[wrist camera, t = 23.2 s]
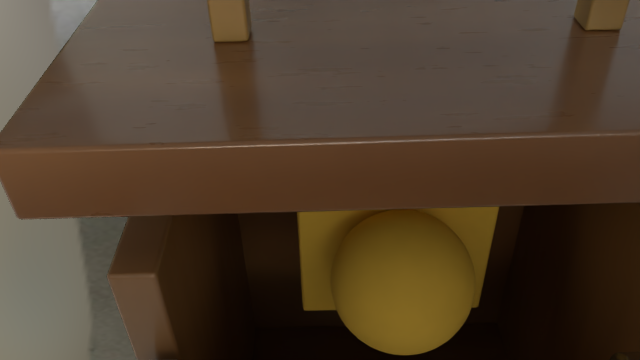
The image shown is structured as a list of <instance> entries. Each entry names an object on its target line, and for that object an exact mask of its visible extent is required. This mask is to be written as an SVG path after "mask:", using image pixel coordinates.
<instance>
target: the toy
mask: <svg viewBox="0 0 640 360" xmlns="http://www.w3.org/2000/svg"><path fill="white" fill-rule="evenodd" d="M498 211H499V207H464V208H426V209H389V210H352V211H315V212H297V222H298V239H299V255H300V271H301V287H302V303H303V309H304V310H305V311H318V310H337V312H338V314H339V316H340V318H341V320H342V321H343V322H344V324H345V325H346V327H347V328H348V329H349V330H350V331H351V332H352V333H353V334H354V335H355V336H356V337H357V338H358V339H359V340H361V341H362V342H363V343H365V344H367V345H368V346H370V347H372V348H374V349H376V350H379V351H382V352H385V353H389V354H394V355H415V354H420V353H424V352H428V351H430V350H433V349H435V348H437V347H439V346H441V345H442V344H444V343H445V342H447V341H448V340H449V339H451V338H452V337H453V336H454V335H455V334H456V333H457V332H458V330H459V329H460V328H461V327H462V325H463V324H464V322H465V321H466V319H467V317H468V315H469V313H470V310H471V308H476V307H478V305H479V301H480V296H481V291H482V287H483V282H484V277H485V272H486V268H487V263H488V258H489V253H490V249H491V244H492V239H493V234H494V230H495V225H496V220H497V215H498Z"/></svg>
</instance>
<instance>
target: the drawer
mask: <svg viewBox="0 0 640 360" xmlns="http://www.w3.org/2000/svg"><path fill="white" fill-rule="evenodd" d="M0 181H1V184H2V186H3V188H4V190H5V192H6V195H7V197H8V199H9V201H10V203H11V205H12V208H13V210H14V212H15V214H16V216H17V218H19V219H54V218H92V217H128V219H127V222H126V225H125V227H124V230H123V233H122V235H121V238H120V241H119V244H118V246H117V249H116V252H115V255H114V257H113V260H112V263H111V265H110V268H109V271H108V274H107V279H108V282H109V285H110V287H111V290H112V293H113V296H114V298H115V301H116V304H117V307H118V309H119V312H120V315H121V318H122V320H123V323H124V326H125V329H126V331H127V334H128V337H129V340H130V342H131V345H132V348H133V351H134V353H135V356H136V359H137V360H610V358H611V356H612V355H613V354H615V353H617V352H640V0H98V1H97V2H96V3H95V5H94V6H93V7H92V9H91V10H90V11H89V13H88V14H87V15H86V17H85V18H84V20H83V21H82V22H81V24H80V25H79V26H78V28H77V29H76V30H75V32H74V33H73V35H72V36H71V37H70V39H69V40H68V41H67V43H66V44H65V45H64V47H63V48H62V49H61V51H60V52H59V54H58V55H57V56H56V58H55V59H54V60H53V62H52V63H51V64H50V66H49V67H48V68H47V70H46V71H45V73H44V74H43V75H42V77H41V78H40V80H39V81H38V82H37V84H36V85H35V86H34V88H33V89H32V90H31V92H30V93H29V94H28V96H27V97H26V98H25V100H24V101H23V102H22V104H21V105H20V107H19V108H18V109H17V111H16V112H15V114H14V115H13V116H12V118H11V119H10V120H9V122H8V123H7V124H6V126H5V127H4V128H3V130H2V131H1V132H0ZM464 207H499V211H498V215H497V220H496V225H495V230H494V234H493V239H492V244H491V249H490V253H489V258H488V263H487V268H486V272H485V277H484V282H483V287H482V291H481V296H480V301H479V305H478V307H476V308H471V310H470V313H469V315H468V317H467V319H466V321H465V322H464V324H463V325H462V327H461V328H460V329H459V330H458V332H457V333H456V334H455V335H454V336H453V337H452V338H451V339H449V340H448V341H447V342H445V343H444V344H442V345H441V346H439V347H437V348H435V349H433V350H430V351H428V352H424V353H420V354H415V355H394V354H389V353H385V352H382V351H379V350H376V349H374V348H372V347H370V346H368V345H367V344H365V343H363V342H362V341H361V340H359V339H358V338H357V337H356V336H355V335H354V334H353V333H352V332H351V331H350V330H349V329H348V328H347V327H346V325H345V324H344V322H343V321H342V320H341V318H340V316H339V314H338V312H337V310H318V311H305V310H304V309H303V303H302V287H301V271H300V255H299V239H298V222H297V212H315V211H352V210H389V209H426V208H464Z"/></svg>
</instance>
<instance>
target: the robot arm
mask: <svg viewBox="0 0 640 360" xmlns="http://www.w3.org/2000/svg"><path fill="white" fill-rule="evenodd" d="M610 360H640V352H617V353H615V354H613V355H612V356H611V358H610Z"/></svg>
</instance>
